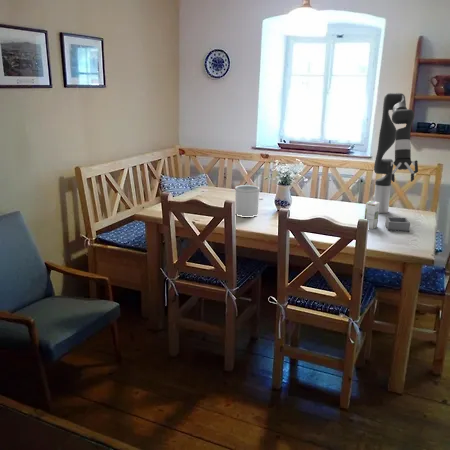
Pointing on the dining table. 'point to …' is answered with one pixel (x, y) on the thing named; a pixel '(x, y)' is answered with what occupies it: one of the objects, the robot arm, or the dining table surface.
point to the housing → (397, 224)
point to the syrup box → (372, 213)
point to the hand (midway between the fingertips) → (402, 181)
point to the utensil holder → (247, 200)
